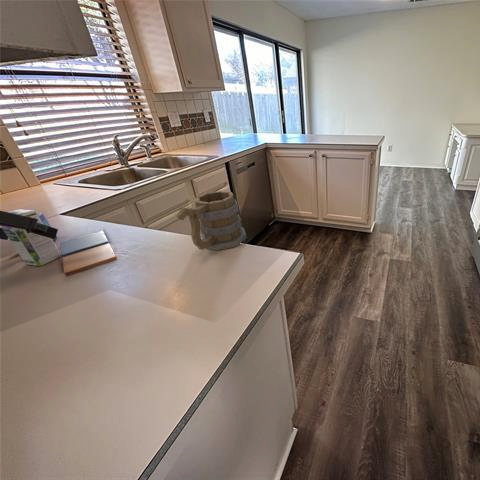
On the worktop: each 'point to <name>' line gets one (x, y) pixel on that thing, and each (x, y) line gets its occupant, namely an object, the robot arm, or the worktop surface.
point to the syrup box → (32, 242)
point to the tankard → (215, 221)
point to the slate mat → (83, 243)
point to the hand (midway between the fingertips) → (31, 234)
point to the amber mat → (88, 259)
